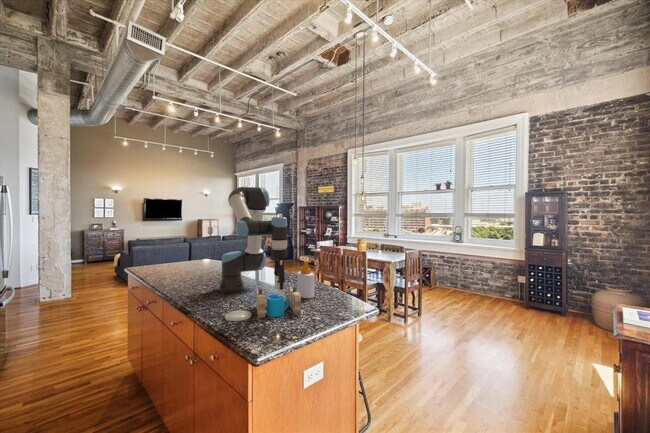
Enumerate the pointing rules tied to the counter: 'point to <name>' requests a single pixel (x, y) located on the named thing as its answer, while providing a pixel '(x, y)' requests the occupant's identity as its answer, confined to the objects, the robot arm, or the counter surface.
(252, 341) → the counter surface
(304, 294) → the soap bottle
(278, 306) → the mug
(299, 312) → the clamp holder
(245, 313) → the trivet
